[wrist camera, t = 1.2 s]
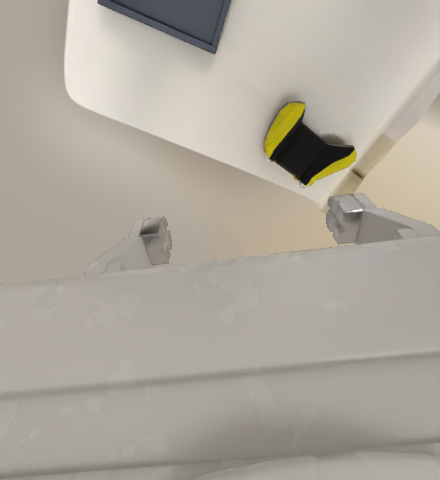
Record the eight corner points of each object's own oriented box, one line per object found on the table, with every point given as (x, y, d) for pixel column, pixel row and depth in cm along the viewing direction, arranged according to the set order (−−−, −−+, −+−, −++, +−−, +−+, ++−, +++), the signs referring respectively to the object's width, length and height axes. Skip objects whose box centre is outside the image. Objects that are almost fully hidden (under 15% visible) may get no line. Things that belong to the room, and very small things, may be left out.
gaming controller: (289, 88, 42) (248, 141, 47) (297, 97, 38) (251, 154, 43) (353, 144, 47) (309, 186, 53) (365, 157, 43) (317, 201, 48)
